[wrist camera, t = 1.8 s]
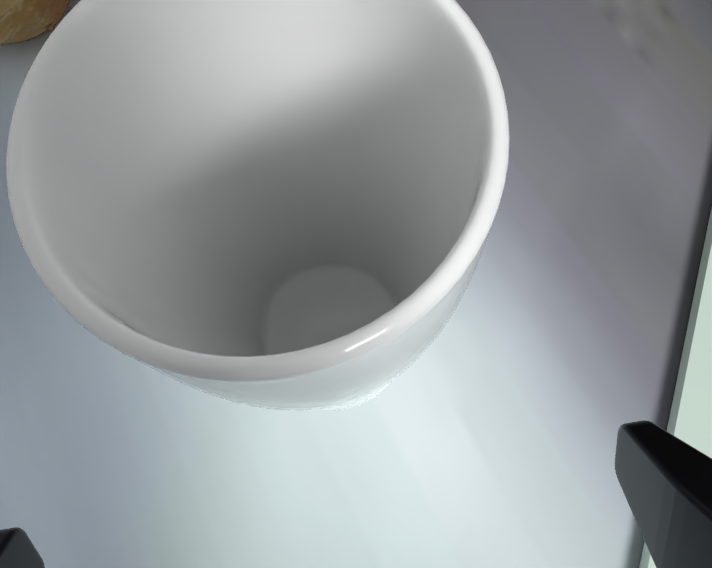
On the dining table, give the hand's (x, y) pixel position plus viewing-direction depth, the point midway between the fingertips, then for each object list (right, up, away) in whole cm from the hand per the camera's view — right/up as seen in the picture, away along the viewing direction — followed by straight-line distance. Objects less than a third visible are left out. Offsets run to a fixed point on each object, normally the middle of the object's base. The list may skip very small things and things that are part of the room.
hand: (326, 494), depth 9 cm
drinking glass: (0, +1, +13) cm, 13 cm away
